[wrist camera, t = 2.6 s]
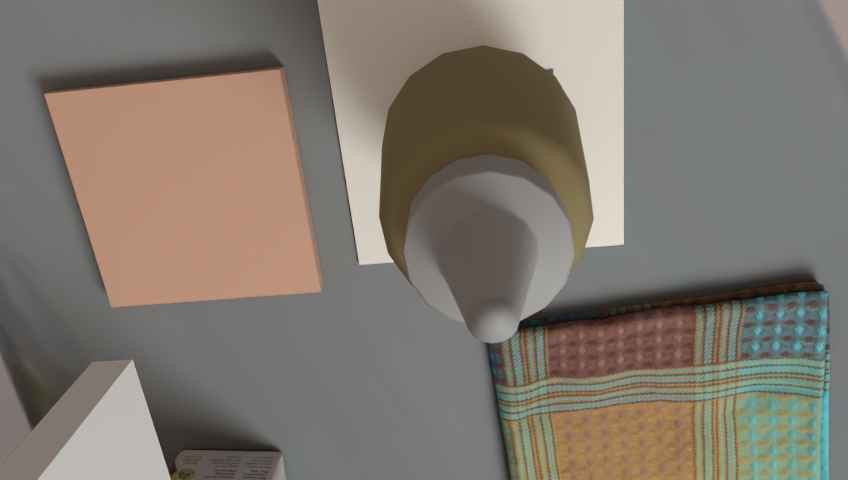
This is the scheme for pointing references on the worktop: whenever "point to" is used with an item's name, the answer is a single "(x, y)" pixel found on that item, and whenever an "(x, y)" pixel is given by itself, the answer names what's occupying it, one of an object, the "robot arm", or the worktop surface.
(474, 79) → the squeeze bottle
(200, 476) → the coffee box
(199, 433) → the worktop surface
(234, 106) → the coaster pad
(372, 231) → the white flat square slab
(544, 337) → the dish towel
